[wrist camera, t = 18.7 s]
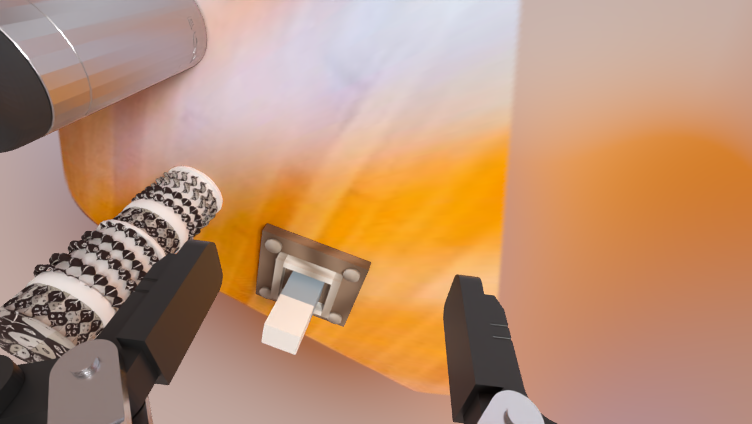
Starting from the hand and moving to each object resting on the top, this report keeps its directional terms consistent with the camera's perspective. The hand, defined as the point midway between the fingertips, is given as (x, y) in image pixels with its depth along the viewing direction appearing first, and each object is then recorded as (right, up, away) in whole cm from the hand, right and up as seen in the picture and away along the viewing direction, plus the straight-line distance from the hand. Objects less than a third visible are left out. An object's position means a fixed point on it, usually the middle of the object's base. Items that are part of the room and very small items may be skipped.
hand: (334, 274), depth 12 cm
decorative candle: (-24, +5, +38) cm, 45 cm away
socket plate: (-9, -8, +44) cm, 46 cm away
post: (-9, -9, +43) cm, 45 cm away
